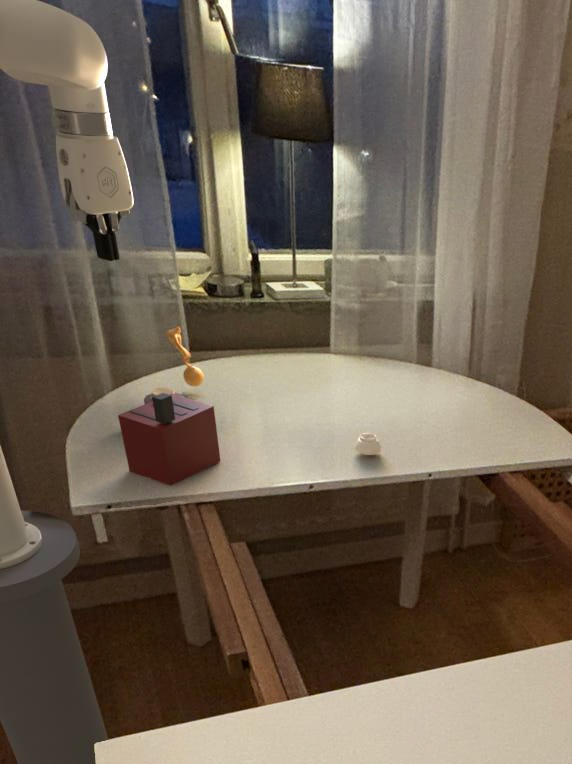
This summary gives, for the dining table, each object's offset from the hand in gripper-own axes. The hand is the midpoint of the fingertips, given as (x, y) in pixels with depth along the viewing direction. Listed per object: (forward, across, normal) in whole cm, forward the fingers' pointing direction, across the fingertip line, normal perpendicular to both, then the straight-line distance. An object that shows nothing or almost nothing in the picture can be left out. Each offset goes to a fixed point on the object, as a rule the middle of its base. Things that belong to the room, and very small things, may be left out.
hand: (108, 258), depth 125 cm
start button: (+25, +5, -2) cm, 26 cm away
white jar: (+29, +16, -40) cm, 52 cm away
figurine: (+29, +20, +6) cm, 36 cm away
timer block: (+29, +5, -2) cm, 29 cm away
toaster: (+29, -9, -17) cm, 34 cm away
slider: (+18, -12, -20) cm, 30 cm away
